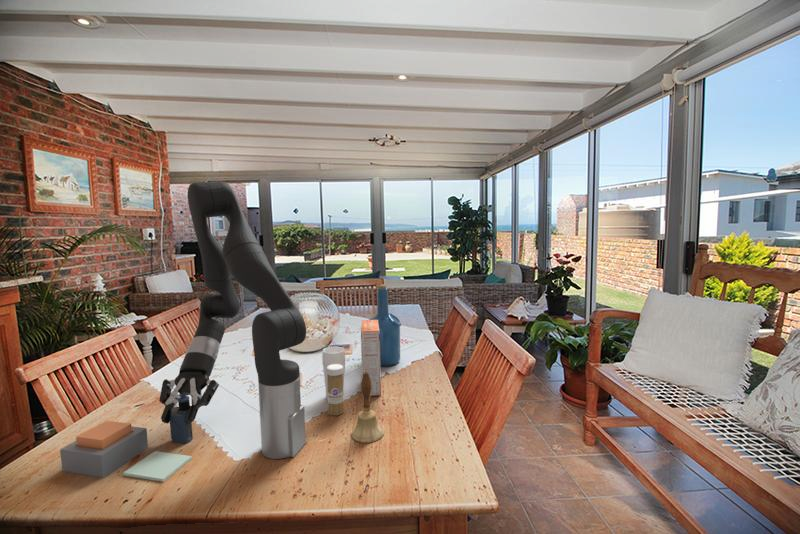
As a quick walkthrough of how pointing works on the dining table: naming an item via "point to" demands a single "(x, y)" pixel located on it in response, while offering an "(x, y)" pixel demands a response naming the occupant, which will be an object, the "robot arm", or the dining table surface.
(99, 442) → the button
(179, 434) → the vaping device
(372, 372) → the cracker box
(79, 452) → the box
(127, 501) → the dining table surface
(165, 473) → the pad
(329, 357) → the drinking glass
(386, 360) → the wine bottle
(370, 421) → the hand bell
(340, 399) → the sprinkles bottle
